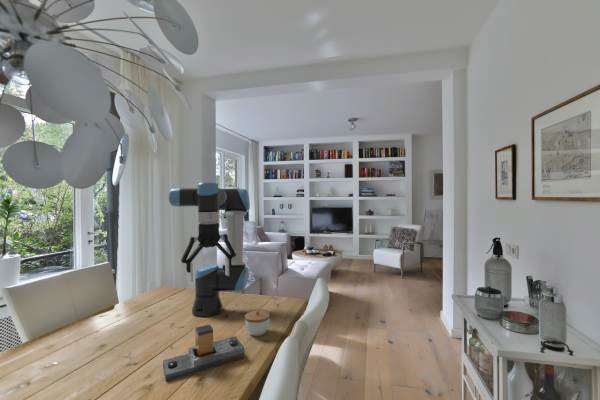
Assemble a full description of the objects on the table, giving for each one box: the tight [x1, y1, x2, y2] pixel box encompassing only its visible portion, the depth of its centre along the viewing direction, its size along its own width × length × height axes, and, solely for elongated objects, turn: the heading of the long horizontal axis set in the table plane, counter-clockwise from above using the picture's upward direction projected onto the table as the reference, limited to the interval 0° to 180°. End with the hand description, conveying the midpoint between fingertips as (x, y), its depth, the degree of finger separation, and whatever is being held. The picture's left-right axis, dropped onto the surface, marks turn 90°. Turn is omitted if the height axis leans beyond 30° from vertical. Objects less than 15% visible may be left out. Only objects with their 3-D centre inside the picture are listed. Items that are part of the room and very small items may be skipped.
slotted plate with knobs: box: [162, 336, 245, 382], centre depth 105 cm, size 10×26×5 cm, turn 120°
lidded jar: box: [244, 310, 271, 337], centre depth 127 cm, size 11×11×9 cm
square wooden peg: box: [195, 324, 214, 358], centre depth 105 cm, size 5×5×12 cm
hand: (209, 277), depth 113 cm, fingers open, 13 cm apart
